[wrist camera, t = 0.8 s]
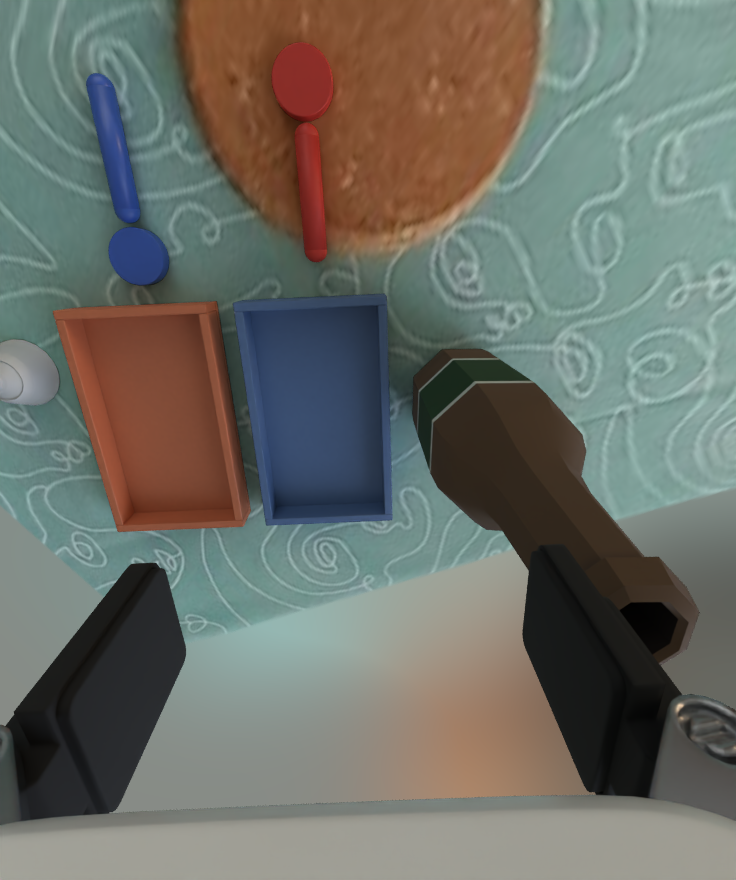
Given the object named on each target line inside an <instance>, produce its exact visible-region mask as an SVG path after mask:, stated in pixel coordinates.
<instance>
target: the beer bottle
mask: <svg viewBox="0 0 736 880" xmlns="http://www.w3.org/2000/svg"><path fill="white" fill-rule="evenodd" d="M412 415H413V422H414V425H415V428H416V431H417V434H418V437H419V440H420V443H421V446H422V449H423V452H424V455H425V458H426V461H427V464H428V467H429V470H430V474H431V475H432V477H433V479H434V481H435V483H436V485H437V487H438V488H439V489H440V490H441V491H442V492H443V493H444V494H445V495H446V496H447V497H448V498H449V499H450V500H452V501H453V502H454V503H455V504H456V505H457V506H458V507H459V508H460V509H461V510H462V511H463V512H464V513H465V514H467V515H468V516H469V517H470V518H471V519H472V520H473V521H474V522H476V523H477V524H479V525H480V526H482V527H483V528H485V529H486V530H499V531H503V532H504V534H505V535H506V537H507V539H508V540H509V542H510V543H511V545H512V546H513V548H514V549H515V551H516V552H517V554H518V555H519V557H520V558H521V560H522V561H523V563H524V564H525V566H526V567H527V569H528V570H529V566H530V557H531V553H532V551H537V549H538V547H539V546H540V545H549V544H564V545H565V546H566V547H567V549H568V550H569V551H570V553H571V554H572V555H573V557H574V558H575V560H576V561H577V562H578V564H579V565H580V566H581V568H582V569H583V571H584V572H585V573H586V575H587V576H588V577H589V579H590V580H591V582H592V583H593V584H594V586H595V587H596V588H597V590H598V591H599V593H600V594H601V595H602V597H604V596H605V597H607V598H609V599H610V600H611V601H612V602H613V603H614V604H615V606H616V607H617V608H618V610H619V611H620V612H621V614H622V615H623V616H624V618H625V619H626V620H627V622H628V623H629V624H630V626H631V627H632V628H633V630H634V631H635V632H636V634H637V635H638V636H639V638H640V639H641V640H642V642H643V643H644V644H645V646H646V647H647V648H648V650H649V651H650V652H651V654H652V655H653V656H654V658H655V659H656V660H657V662H658V663H659V664H660V665H662V664H664V663H665V662H667V661H668V660H670V659H672V658H673V657H675V656H677V655H678V654H680V653H681V652H683V651H685V650H686V649H687V647H688V645H689V642H690V639H691V636H692V633H693V630H694V627H695V624H696V622H697V619H698V616H699V613H700V612H699V610H698V608H697V606H696V604H695V603H694V601H693V599H692V597H691V595H690V593H689V591H688V589H687V587H686V586H685V585H684V584H683V583H682V582H681V581H680V580H679V578H678V577H677V576H676V575H675V574H674V573H673V572H672V571H671V570H670V569H669V568H668V567H667V565H666V564H665V563H664V562H663V561H662V560H661V559H660V558H659V557H644V555H643V554H642V553H641V552H640V551H639V550H638V548H637V547H636V546H635V545H634V544H633V542H631V540H630V539H629V538H628V537H627V535H626V534H625V533H624V532H623V531H622V529H621V528H620V527H619V526H618V525H617V524H616V522H615V521H614V520H613V519H612V518H611V516H610V515H609V514H608V513H607V512H606V511H605V509H604V508H603V507H602V506H601V505H600V503H599V502H598V501H597V500H596V499H595V498H594V496H593V495H592V494H591V492H590V491H589V489H588V487H587V485H586V484H585V482H584V480H583V478H582V477H581V475H582V470H583V465H584V460H585V455H586V448H585V444H584V440H583V436H582V434H581V433H580V431H579V430H578V429H577V428H576V427H575V426H574V425H573V424H572V422H571V421H570V420H569V419H568V418H567V417H566V416H565V415H564V413H563V412H562V411H561V410H560V409H559V408H558V407H557V406H556V404H555V403H554V402H553V401H552V400H551V399H550V398H549V397H548V395H547V394H546V393H545V392H544V391H542V390H541V389H540V388H539V387H538V386H537V385H536V384H535V383H534V382H533V381H531V380H530V379H528V378H527V377H525V376H524V375H522V374H521V373H519V372H518V371H516V370H515V369H513V368H512V367H510V366H509V365H507V364H506V363H504V362H503V361H501V360H500V359H498V358H497V357H495V356H494V355H492V354H491V353H489V352H487V351H485V350H483V349H442V350H441V351H440V352H439V353H438V354H437V355H436V356H435V357H434V358H432V359H431V360H430V361H429V362H428V363H427V364H426V365H425V366H424V367H423V368H422V369H421V370H420V371H419V372H418V373H417V374H416V375H415V376H414V377H413V406H412Z"/></svg>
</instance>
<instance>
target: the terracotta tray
mask: <svg viewBox="0 0 736 880" xmlns="http://www.w3.org/2000/svg"><path fill="white" fill-rule="evenodd" d="M53 315H54V318H55V320H56V325H57V328H58V332H59V335H60V338H61V342H62V345H63V348H64V352H65V355H66V359H67V362H68V365H69V369H70V372H71V375H72V379H73V382H74V386H75V389H76V392H77V396H78V399H79V402H80V406H81V409H82V413H83V416H84V419H85V423H86V426H87V429H88V433H89V436H90V439H91V443H92V446H93V450H94V453H95V456H96V460H97V463H98V466H99V470H100V473H101V477H102V480H103V483H104V487H105V490H106V493H107V497H108V500H109V504H110V507H111V510H112V514H113V517H114V520H115V524H116V528H117V531H118V532H126V531H150V530H174V529H198V528H221V527H243V526H244V524H245V522H246V520H247V518H248V516H249V513H250V511H251V509H250V503H249V497H248V490H247V484H246V478H245V472H244V466H243V460H242V453H241V447H240V441H239V435H238V429H237V423H236V416H235V410H234V404H233V398H232V392H231V386H230V379H229V373H228V367H227V361H226V355H225V349H224V342H223V336H222V330H221V324H220V318H219V312H218V306H217V302H216V301H213V302H191V303H169V304H147V305H125V306H103V307H81V308H70V309H63V310H56V311H53Z"/></svg>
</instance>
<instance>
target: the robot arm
mask: <svg viewBox="0 0 736 880" xmlns="http://www.w3.org/2000/svg"><path fill="white" fill-rule="evenodd" d="M523 642H524V646H525V648H526V651H527V653H528V655H529V658H530V660H531V662H532V665H533V667H534V670H535V672H536V674H537V677H538V679H539V681H540V684H541V686H542V688H543V691H544V693H545V695H546V698H547V700H548V702H549V704H550V707H551V709H552V712H553V714H554V716H555V719H556V721H557V723H558V725H559V728H560V731H561V732H562V735H563V738H564V740H565V742H566V745H567V747H568V749H569V752H570V754H571V756H572V759H573V761H574V763H575V765H576V768H577V770H578V773H579V775H580V777H581V780H582V782H583V784H584V786H585V788H586V789H587V791H589V792H595V793H596V795H559V796H558V795H553V796H552V795H551V796H506V797H505V796H504V797H475V798H447V799H419V800H392V801H366V802H341V803H316V804H295V805H294V804H293V805H269V806H246V807H225V808H204V809H183V810H164V811H141V812H125V813H109V812H113V811H115V810H116V809H117V807H118V806H119V804H120V802H121V800H122V798H123V796H124V793H125V791H126V789H127V787H128V785H129V782H130V780H131V778H132V776H133V774H134V771H135V769H136V767H137V765H138V763H139V760H140V758H141V756H142V754H143V751H144V749H145V747H146V745H147V743H148V740H149V738H150V736H151V734H152V732H153V730H154V727H155V725H156V723H157V721H158V719H159V716H160V714H161V712H162V710H163V708H164V705H165V703H166V701H167V699H168V697H169V695H170V692H171V690H172V688H173V686H174V684H175V681H176V679H177V677H178V675H179V672H180V670H181V668H182V666H183V663H184V661H185V657H186V646H185V642H184V638H183V635H182V631H181V627H180V623H179V620H178V616H177V612H176V608H175V605H174V601H173V597H172V593H171V589H170V586H169V582H168V578H167V574H166V571H165V570H164V569H163V568H159V566H158V565H157V563H138V564H131V565H130V566H129V567H128V568H127V569H126V570H125V571H124V573H123V574H122V575H121V576H120V578H119V579H118V580H117V582H116V583H115V584H114V585H113V587H112V588H111V589H110V590H109V592H108V593H107V594H106V596H105V597H104V598H103V599H102V601H101V602H100V603H99V604H98V606H97V607H96V608H95V609H94V611H93V612H92V613H91V615H90V616H89V617H88V619H87V620H86V621H85V622H84V624H83V625H82V626H81V627H80V629H79V630H78V631H77V633H76V634H75V635H74V636H73V638H72V639H71V640H70V641H69V643H68V644H67V645H66V646H65V648H64V649H63V650H62V651H61V653H60V654H59V655H58V657H57V658H56V659H55V660H54V662H53V663H52V664H51V665H50V667H49V668H48V669H47V670H46V672H45V673H44V674H43V675H42V677H41V678H40V680H39V681H38V682H37V683H36V684H35V686H34V687H33V688H32V689H31V691H30V692H29V693H28V694H27V696H26V697H25V698H24V700H23V701H22V702H21V703H20V705H19V706H18V707H17V708H16V710H15V711H14V716H13V717H12V718H11V720H10V721H9V722H8V723H7V725H6V726H3V725H0V880H736V710H735V709H733V708H730V707H729V706H727V705H725V704H724V703H721V702H719V701H717V700H714V699H711V698H709V697H706V696H701V695H694V694H688V695H682V694H681V692H680V691H679V690H678V689H677V687H676V686H675V685H674V683H673V682H672V680H671V679H670V678H669V676H668V675H667V674H666V672H665V671H664V670H663V668H662V667H661V666H660V664H659V663H658V662H657V660H656V659H655V658H654V656H653V655H652V654H651V652H650V651H649V650H648V648H647V647H646V646H645V644H644V643H643V642H642V640H641V639H640V638H639V636H638V635H637V634H636V632H635V631H634V630H633V628H632V627H631V626H630V624H629V623H628V622H627V620H626V619H625V618H624V616H623V615H622V614H621V612H620V611H619V610H618V608H617V607H616V606H615V604H614V603H613V602H612V601H611V600H610V599H609V598H607V597H605V596H604V597H602V595H601V594H600V593H599V591H598V590H597V588H596V587H595V586H594V584H593V583H592V582H591V580H590V579H589V577H588V576H587V575H586V573H585V572H584V571H583V569H582V568H581V566H580V565H579V564H578V562H577V561H576V560H575V558H574V557H573V555H572V554H571V553H570V551H569V550H568V549H567V547H566V546H565V545H564V544H549V545H540V546H539V547H538V549H537V551H532V553H531V557H530V566H529V576H528V585H527V594H526V604H525V613H524V623H523Z"/></svg>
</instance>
